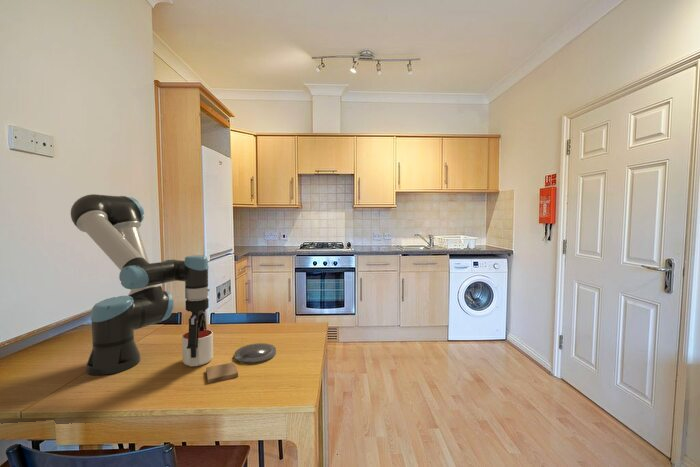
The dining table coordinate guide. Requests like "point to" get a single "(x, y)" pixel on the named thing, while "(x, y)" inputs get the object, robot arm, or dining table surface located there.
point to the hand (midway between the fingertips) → (198, 359)
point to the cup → (204, 347)
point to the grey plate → (255, 353)
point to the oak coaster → (221, 372)
